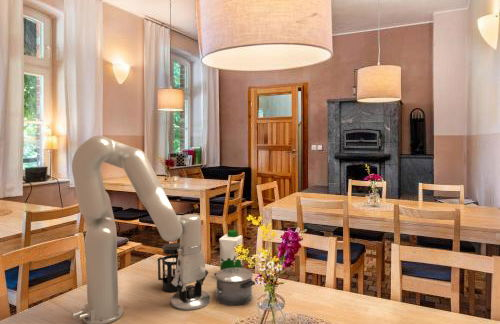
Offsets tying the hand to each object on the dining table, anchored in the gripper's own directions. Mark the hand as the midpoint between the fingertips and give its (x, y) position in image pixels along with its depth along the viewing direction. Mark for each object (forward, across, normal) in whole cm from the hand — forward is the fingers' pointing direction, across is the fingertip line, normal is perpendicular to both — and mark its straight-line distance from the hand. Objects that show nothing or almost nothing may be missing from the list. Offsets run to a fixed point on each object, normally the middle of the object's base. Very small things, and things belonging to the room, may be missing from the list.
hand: (190, 297), depth 130 cm
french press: (+2, +2, +15) cm, 15 cm away
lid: (+1, 0, 0) cm, 1 cm away
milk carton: (+2, +24, +5) cm, 25 cm away
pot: (+1, +13, -9) cm, 16 cm away
